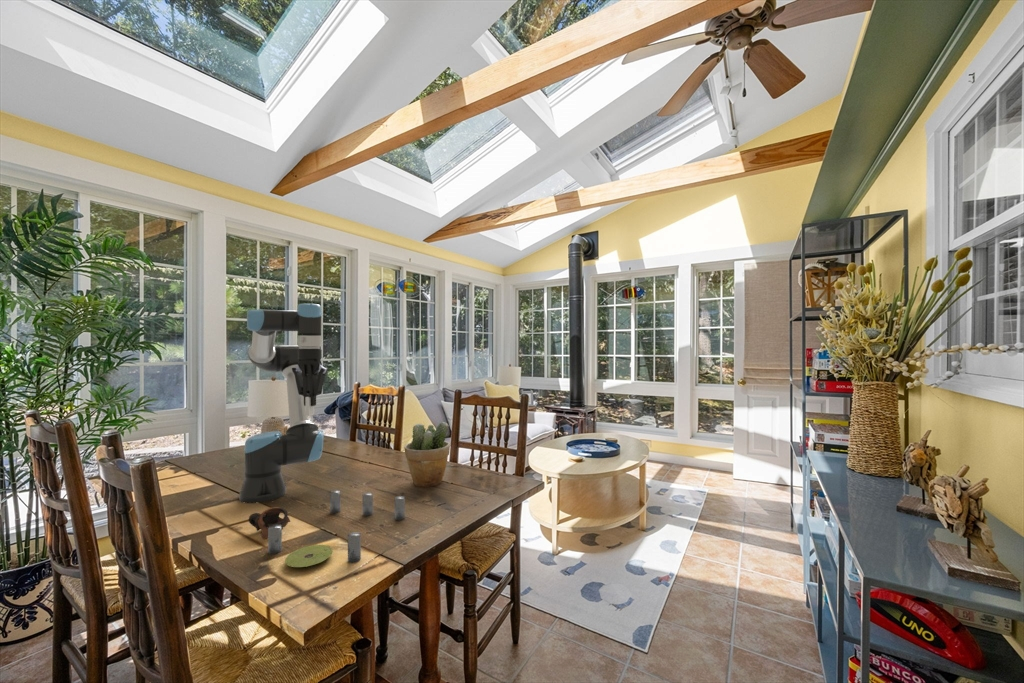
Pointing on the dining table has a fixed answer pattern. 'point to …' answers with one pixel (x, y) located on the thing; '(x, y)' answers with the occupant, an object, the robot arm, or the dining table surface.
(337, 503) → the posts
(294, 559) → the green disc
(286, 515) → the pottery mug
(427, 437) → the potted plant
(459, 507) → the dining table surface
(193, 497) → the dining table surface
